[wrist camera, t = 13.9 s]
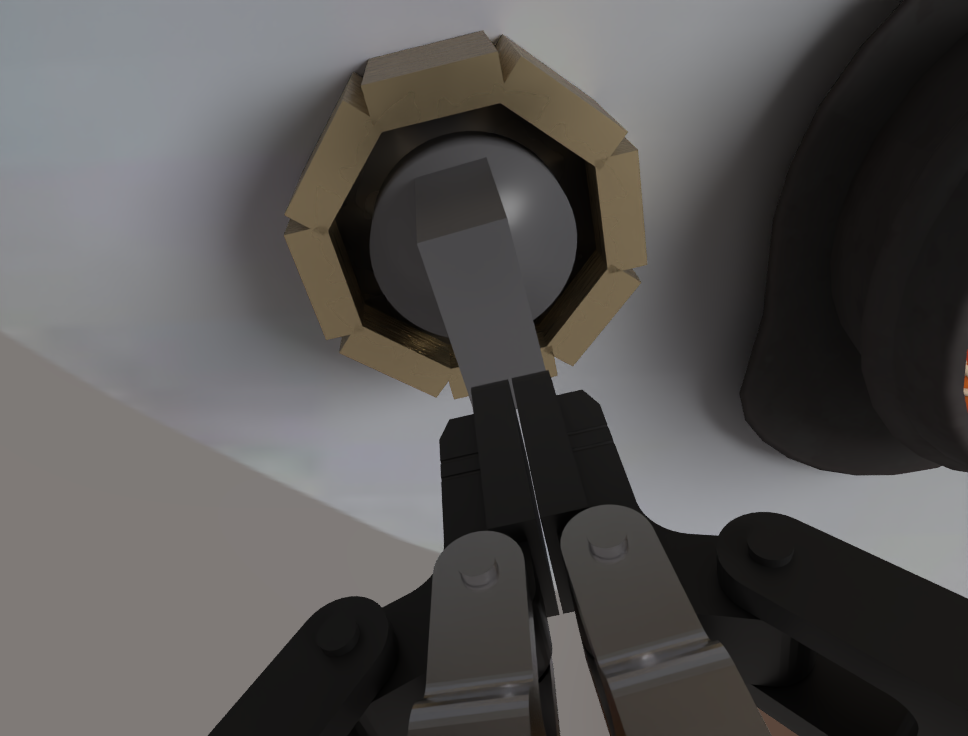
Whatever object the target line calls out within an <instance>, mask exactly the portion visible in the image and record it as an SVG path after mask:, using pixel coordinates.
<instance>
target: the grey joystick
mask: <svg viewBox="0 0 968 736" xmlns="http://www.w3.org/2000/svg"><path fill="white" fill-rule="evenodd" d="M576 249H577V231H576V223H575V219H574V215H573V211H572V208H571V206H570V203H569V201H568V199H567V197H566V195H565V193H564V192H563V190H562V188H561V187H560V185H559V183H558V181H557V180H556V178H555V177H554V175H553V173H552V172H551V170H550V169H549V168H548V166H547V165H546V164H545V163H544V162H543V160H542V159H541V158H539V157H538V156H537V155H536V154H535V153H534V152H533V151H531V150H530V149H528V148H527V147H526V146H524V145H523V144H521V143H519V142H517V141H515V140H513V139H511V138H508V137H505V136H502V135H499V134H495V133H490V132H485V131H461V132H453V133H449V134H444V135H441V136H438V137H436V138H433V139H430V140H428V141H426V142H424V143H423V144H421V145H419V146H417V147H416V148H414V149H413V150H412V151H410V152H409V153H407V154H406V155H405V156H404V157H403V158H402V159H401V160H400V161H399V162H398V163H397V164H396V165H395V166H394V167H393V169H392V170H391V171H390V172H389V174H388V175H387V177H386V179H385V180H384V182H383V184H382V186H381V188H380V190H379V193H378V195H377V198H376V201H375V205H374V209H373V217H372V225H371V233H370V258H371V264H372V268H373V271H374V275H375V278H376V280H377V282H378V284H379V287H380V289H381V290H382V292H383V294H384V295H385V297H386V298H387V300H388V301H389V302H390V303H391V304H392V306H393V307H394V308H395V309H396V310H397V311H398V312H399V313H400V314H401V315H402V316H404V317H405V318H406V319H408V320H409V321H410V322H412V323H413V324H415V325H416V326H418V327H420V328H422V329H424V330H426V331H429V332H431V333H434V334H437V335H440V336H444V337H448V338H449V339H450V342H451V345H452V348H453V351H454V354H455V357H456V360H457V362H458V365H459V368H460V371H461V374H462V377H463V380H464V383H465V386H466V389H467V392H468V395H469V398H470V401H471V403H472V395H471V387H475V386H480V385H484V384H489V383H493V382H497V381H502V380H506V379H508V381H509V384H510V388H511V393H512V397H513V401H514V405H515V409H518V408H517V403H516V399H515V394H514V389H513V384H512V379H511V378H514V377H519V376H523V375H528V374H532V373H537V372H541V371H545V370H546V369H545V365H544V362H543V358H542V354H541V350H540V346H539V342H538V338H537V334H536V330H535V326H534V322H533V320H534V319H535V318H536V317H538V316H539V315H540V314H542V313H543V312H544V311H545V310H546V309H547V308H548V307H549V306H550V305H551V304H552V303H553V302H554V300H555V299H556V298H557V296H558V295H559V294H560V292H561V291H562V289H563V287H564V286H565V284H566V282H567V280H568V278H569V276H570V273H571V271H572V267H573V264H574V261H575V255H576ZM472 406H473V403H472Z"/></svg>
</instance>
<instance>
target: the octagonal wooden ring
mask: <svg viewBox="0 0 968 736" xmlns="http://www.w3.org/2000/svg"><path fill="white" fill-rule="evenodd" d="M461 131H485V132H490V133H495V134H499V135H502V136H505V137H508V138H511V139H513V140H515V141H517V142H519V143H521V144H523V145H524V146H526V147H527V148H528V149H530V150H531V151H533V152H534V153H535V154H536V155H537V156H538V157H539V158H541V159H542V160H543V162H544V163H545V164H546V165H547V166H548V168H549V169H550V170H551V172H552V173H553V175H554V177H555V178H556V180H557V181H558V183H559V185H560V187H561V188H562V190H563V192H564V193H565V195H566V197H567V199H568V201H569V203H570V206H571V208H572V211H573V215H574V219H575V223H576V231H577V249H576V255H575V261H574V264H573V267H572V271H571V273H570V276H569V278H568V280H567V282H566V284H565V286H564V287H563V289H562V291H561V292H560V294H559V295H558V296H557V298H556V299H555V300H554V302H553V303H552V304H551V305H550V306H549V307H548V308H547V309H546V310H545V311H544V312H543V313H542V314H540V315H539V316H538V317H536V318H535V319H534V320H533V322H534V326H535V330H536V334H537V338H538V342H539V346H540V350H541V354H542V358H543V362H544V365H545V369H546V370H549V373H550V376H551V377H554V376H557V370H556V365H555V359H554V357H556V358H558V359H560V360H562V361H564V362H566V363H568V364H569V365H571V366H574V364H575V363H576V362H577V361H578V359H579V358H580V357H581V356H582V355H583V353H584V352H585V351H586V350H587V348H588V347H589V346H590V345H591V344H592V342H593V341H594V340H595V339H596V337H597V336H598V335H599V334H600V333H601V331H602V330H603V329H604V328H605V326H606V325H607V324H608V323H609V322H610V320H611V319H612V318H613V317H614V315H615V314H616V313H617V312H618V311H619V309H620V308H621V307H622V306H623V304H624V303H625V302H626V301H627V299H628V298H629V297H630V296H631V295H632V293H633V292H634V291H635V290H636V288H637V287H638V286H639V285H640V284H641V281H640V280H639V278H638V277H637V275H636V274H635V272H634V271H633V269H632V268H636V267H640V266H644V265H647V254H646V242H645V230H644V218H643V206H642V193H641V181H640V169H639V157H638V150H637V149H636V148H635V147H634V146H633V145H632V144H631V143H630V142H629V141H628V140H627V139H626V138H625V135H626V134H627V132H628V131H627V130H625V129H624V128H623V127H622V126H621V125H620V124H619V123H618V122H617V121H616V120H615V119H614V118H613V117H612V116H611V115H609V114H608V113H607V112H606V111H605V110H604V109H603V108H602V107H601V106H600V105H599V104H598V103H597V102H596V101H594V100H593V99H592V98H591V97H589V96H588V95H586V94H585V93H584V92H582V91H581V90H579V89H578V88H577V87H575V86H574V85H572V84H571V83H570V82H568V81H567V80H566V79H564V78H563V77H561V76H560V75H559V74H557V73H556V72H554V71H553V70H552V69H550V68H549V67H547V66H546V65H545V64H543V63H542V62H540V61H539V60H538V59H536V58H535V57H533V56H532V55H531V54H529V53H528V52H527V51H525V50H524V49H522V48H521V47H520V46H518V45H517V44H515V43H514V42H513V41H511V40H510V39H508V38H507V37H506V36H504V35H503V34H502V36H501V37H500V39H499V41H498V43H497V44H496V46H495V47H494V45H493V44H492V42H491V41H490V40H489V38H488V37H487V35H486V34H485V33H484V31H479V32H475V33H471V34H467V35H463V36H459V37H455V38H451V39H447V40H443V41H439V42H435V43H431V44H427V45H423V46H419V47H415V48H411V49H407V50H403V51H399V52H395V53H391V54H387V55H383V56H379V57H375V58H371V59H369V60H368V63H367V66H366V70H365V73H364V77H361V76H360V75H358V74H357V73H355V72H353V73H352V75H351V77H350V79H349V81H348V83H347V85H346V87H345V89H344V91H343V93H342V95H341V97H340V99H339V101H338V103H337V105H336V107H335V109H334V111H333V113H332V115H331V117H330V119H329V121H328V123H327V125H326V127H325V129H324V131H323V133H322V135H321V136H320V138H319V140H318V142H317V144H316V146H315V148H314V150H313V152H312V154H311V156H310V158H309V160H308V162H307V164H306V166H305V168H304V170H303V172H302V175H301V177H300V179H299V182H298V184H297V186H296V189H295V191H294V194H293V196H292V198H291V201H290V203H289V205H288V208H287V210H286V212H285V216H287V217H289V218H291V219H290V221H289V224H288V226H287V228H286V231H285V233H284V237H285V240H286V242H287V245H288V247H289V250H290V252H291V254H292V257H293V259H294V262H295V264H296V267H297V269H298V272H299V274H300V277H301V279H302V282H303V284H304V286H305V289H306V291H307V294H308V296H309V299H310V301H311V304H312V306H313V309H314V311H315V314H316V316H317V318H318V321H319V323H320V326H321V328H322V331H323V333H324V336H325V338H326V340H329V339H333V338H337V337H342V339H341V346H340V352H339V353H340V354H342V355H345V356H347V357H349V358H351V359H353V360H355V361H358V362H360V363H362V364H364V365H366V366H369V367H371V368H373V369H375V370H377V371H379V372H382V373H384V374H386V375H388V376H390V377H392V378H395V379H397V380H399V381H401V382H403V383H406V384H408V385H410V386H412V387H414V388H416V389H419V390H421V391H423V392H425V393H427V394H429V395H432V396H434V397H437V396H438V395H439V393H440V392H441V391H442V389H443V388H444V386H445V385H446V384H447V382H448V381H449V384H450V387H451V391H452V394H453V397H454V399H458V398H462V397H467V396H469V395H468V392H467V389H466V386H465V383H464V380H463V377H462V374H461V371H460V368H459V365H458V362H457V360H456V357H455V354H454V351H453V348H452V345H451V342H450V339H449V338H448V337H444V336H440V335H437V334H434V333H431V332H429V331H426V330H424V329H422V328H420V327H418V326H416V325H415V324H413V323H412V322H410V321H409V320H408V319H406V318H405V317H404V316H402V315H401V314H400V313H399V312H398V311H397V310H396V309H395V308H394V307H393V306H392V304H391V303H390V302H389V301H388V300H387V298H386V297H385V295H384V294H383V292H382V290H381V289H380V287H379V284H378V282H377V280H376V278H375V275H374V271H373V268H372V264H371V258H370V233H371V225H372V217H373V209H374V205H375V201H376V198H377V195H378V193H379V190H380V188H381V186H382V184H383V182H384V180H385V179H386V177H387V175H388V174H389V172H390V171H391V170H392V169H393V167H394V166H395V165H396V164H397V163H398V162H399V161H400V160H401V159H402V158H403V157H404V156H405V155H406V154H407V153H409V152H410V151H412V150H413V149H414V148H416V147H417V146H419V145H421V144H423V143H424V142H426V141H428V140H430V139H433V138H436V137H438V136H441V135H444V134H449V133H453V132H461Z"/></svg>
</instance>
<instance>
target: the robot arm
mask: <svg viewBox="0 0 968 736" xmlns="http://www.w3.org/2000/svg"><path fill="white" fill-rule="evenodd" d="M511 379H512V384H513V389H514V394H515V399H516V403H517V408H518V413H519V418H520V423H521V428H522V432H523V437H524V442H525V447H526V451H525V447H524V443H523V438H522V434H521V430H520V426H519V422H518V418H517V413H516V409H515V405H514V401H513V397H512V393H511V388H510V384H509V381H508V379H506V380H502V381H497V382H493V383H489V384H484V385H480V386H475V387H471V395H472V403H473V412H474V414H472V415H467V416H463V417H458V418H454V419H450V420H449V421H448V423H447V425H446V428H445V430H444V432H443V434H442V436H441V438H440V440H439V442H440V461H441V479H442V482H441V486H442V508H443V530H444V550H443V552H442V553H441V554H440V556H439V557H438V559H437V561H436V563H435V566H434V570H433V574H432V575H431V577H430V578H429V579H428V580H427V581H426V582H425V583H424V584H423V585H421V586H420V587H419V588H417V589H416V590H414V591H413V592H411V593H409V594H407V595H406V596H404V597H402V598H400V599H398V600H396V601H394V602H392V603H390V604H388V605H387V606H385V607H383V608H382V607H381V606H380V605H378V603H376V602H375V601H373V600H371V599H368V598H365V597H358V596H354V597H353V596H351V597H345V598H341V599H338V600H335V601H333V602H331V603H329V604H327V605H325V606H324V607H322V608H320V609H319V610H318V611H317V612H315V613H314V614H313V615H312V616H311V617H310V618H309V619H308V620H307V621H306V622H305V624H304V625H303V626H302V627H301V628H300V630H299V631H298V632H297V633H296V634H295V635H294V636H293V637H292V639H291V640H290V641H289V642H288V643H287V644H286V646H285V647H284V648H283V649H282V650H281V651H280V653H279V654H278V655H277V656H276V657H275V658H274V660H273V661H272V662H271V663H270V664H269V665H268V666H267V668H266V669H265V670H264V671H263V672H262V673H261V675H260V676H259V677H258V678H257V679H256V680H255V681H254V683H253V684H252V685H251V686H250V687H249V688H248V690H247V691H246V692H245V693H244V694H243V695H242V697H241V698H240V699H239V700H238V701H237V702H236V703H235V705H234V706H233V707H232V708H231V709H230V710H229V712H228V713H227V714H226V715H225V717H223V718H222V720H221V721H220V722H219V723H218V724H217V725H216V727H215V728H214V729H213V730H212V731H211V732H210V734H209V735H208V736H560V727H559V718H558V707H557V698H556V689H555V678H554V668H553V662H552V657H551V656H552V643H551V637H550V631H549V626H548V621H547V617H551V616H556V615H559V610H558V605H557V601H556V596H555V591H554V586H553V581H552V576H551V571H550V567H549V562H548V557H547V552H546V547H545V542H544V537H543V533H542V528H541V523H542V527H543V531H544V536H545V540H546V544H547V548H548V552H549V556H550V560H551V565H552V569H553V573H554V577H555V581H556V585H557V589H558V593H559V597H560V602H561V606H562V610H563V613H569V612H574V611H575V614H576V619H577V623H578V627H579V632H580V636H581V640H582V644H583V649H584V653H585V658H586V661H587V664H588V668H589V671H590V674H591V677H592V680H593V683H594V687H595V690H596V693H597V696H598V699H599V702H600V706H601V709H602V712H603V715H604V718H605V721H606V725H607V728H608V731H609V734H610V736H771V734H770V732H769V730H768V728H767V726H766V724H765V722H764V720H763V718H762V716H761V714H760V712H759V710H758V709H757V707H758V708H759V709H761V710H762V711H764V712H765V713H766V714H768V715H769V716H771V717H772V718H774V719H775V720H777V721H778V722H780V723H781V724H783V725H784V726H786V727H787V728H788V729H790V730H791V731H793V732H794V733H796V734H797V735H799V736H968V599H967V598H965V597H963V596H961V595H959V594H956V593H954V592H952V591H950V590H948V589H946V588H944V587H941V586H939V585H937V584H935V583H933V582H931V581H928V580H926V579H924V578H922V577H920V576H918V575H915V574H913V573H911V572H909V571H907V570H905V569H902V568H900V567H898V566H896V565H894V564H892V563H889V562H887V561H885V560H883V559H881V558H879V557H876V556H874V555H872V554H870V553H868V552H866V551H864V550H861V549H859V548H857V547H855V546H853V545H851V544H848V543H846V542H844V541H842V540H840V539H838V538H835V537H833V536H831V535H829V534H827V533H825V532H822V531H820V530H818V529H816V528H814V527H812V526H809V525H807V524H805V523H803V522H801V521H799V520H796V519H794V518H792V517H789V516H786V515H782V514H778V513H771V512H756V513H749V514H746V515H742V516H740V517H737V518H735V519H734V520H732V521H730V522H729V523H728V524H727V525H726V526H725V527H724V528H723V529H722V531H721V532H720V534H719V536H715V535H698V534H686V533H679V532H675V531H671V530H669V529H666V528H663V527H661V526H660V525H658V524H656V523H654V522H653V521H652V520H650V519H649V518H648V517H647V516H646V515H645V514H644V513H643V512H642V511H641V509H640V508H639V506H638V504H637V502H636V499H635V497H634V494H633V491H632V489H631V486H630V483H629V481H628V478H627V475H626V473H625V470H624V467H623V465H622V462H621V460H620V457H619V454H618V452H617V449H616V446H615V444H614V442H613V438H612V436H611V433H610V430H609V428H608V426H607V422H606V420H605V417H604V414H603V412H602V409H601V407H600V404H599V403H598V402H596V401H595V400H594V399H593V398H592V397H590V396H589V395H588V394H587V393H586V392H584V391H583V390H578V391H574V392H569V393H565V394H561V395H556V393H555V390H554V386H553V383H552V379H551V376H550V373H549V370H545V371H541V372H537V373H532V374H528V375H523V376H519V377H514V378H511ZM526 452H527V456H526ZM527 457H528V460H527ZM528 461H529V465H528ZM529 466H530V470H529ZM530 471H531V474H530ZM531 476H532V479H531ZM532 481H533V484H532ZM533 485H534V489H533ZM534 490H535V494H534ZM535 495H536V499H535ZM536 500H537V503H536ZM537 505H538V508H537ZM538 510H539V513H538ZM539 514H540V518H539ZM540 519H541V523H540Z"/></svg>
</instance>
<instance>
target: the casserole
mask: <svg viewBox="0 0 968 736" xmlns="http://www.w3.org/2000/svg"><path fill="white" fill-rule="evenodd" d="M740 398H741V402H742V407H743V412H744V416H745V420H746V421H747V423H748V424H749V425H750V426H751V427H752V429H753V430H754V431H755V432H756V433H757V435H758V436H759V437H760V438H761V439H762V441H764V442H765V443H767V444H768V445H770V446H771V447H773V448H774V449H776V450H777V451H779V452H780V453H782V454H783V455H785V456H786V457H788V458H790V459H793V460H796V461H798V462H801V463H804V464H806V465H809V466H811V467H814V468H817V469H819V470H825V471H831V472H838V473H844V474H851V475H896V474H903V473H909V472H915V471H921V470H927V469H933V468H938V467H940V466H944V467H947V468H949V469H952V470H956V471H962V472H968V0H904V1H903V2H902V3H901V4H900V5H899V6H898V7H897V8H896V9H895V11H894V12H893V13H892V14H891V15H890V16H889V17H888V18H887V19H886V20H885V21H884V22H883V23H882V24H881V26H880V27H879V28H878V29H877V30H876V31H875V32H874V33H873V34H872V35H871V36H870V37H869V38H868V39H867V41H866V42H865V43H864V44H863V45H862V46H861V47H860V49H859V50H858V52H857V53H856V55H855V56H854V57H853V59H852V60H851V62H850V63H849V65H848V66H847V67H846V69H845V70H844V72H843V73H842V74H841V76H840V77H839V79H838V80H837V82H836V83H835V84H834V86H833V87H832V89H831V90H830V92H829V93H828V94H827V96H826V97H825V99H824V100H823V101H822V103H821V104H820V106H819V108H818V110H817V112H816V114H815V116H814V118H813V120H812V122H811V124H810V126H809V128H808V130H807V132H806V134H805V136H804V138H803V140H802V142H801V144H800V146H799V148H798V150H797V152H796V154H795V156H794V158H793V160H792V162H791V164H790V167H789V170H788V173H787V176H786V180H785V183H784V186H783V189H782V192H781V196H780V199H779V202H778V205H777V208H776V212H775V215H774V218H773V224H772V234H771V243H770V253H769V262H768V272H767V282H766V292H765V302H764V312H763V317H762V320H761V323H760V327H759V330H758V333H757V337H756V340H755V343H754V346H753V350H752V353H751V356H750V360H749V363H748V366H747V370H746V373H745V376H744V380H743V383H742V386H741V390H740Z"/></svg>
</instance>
